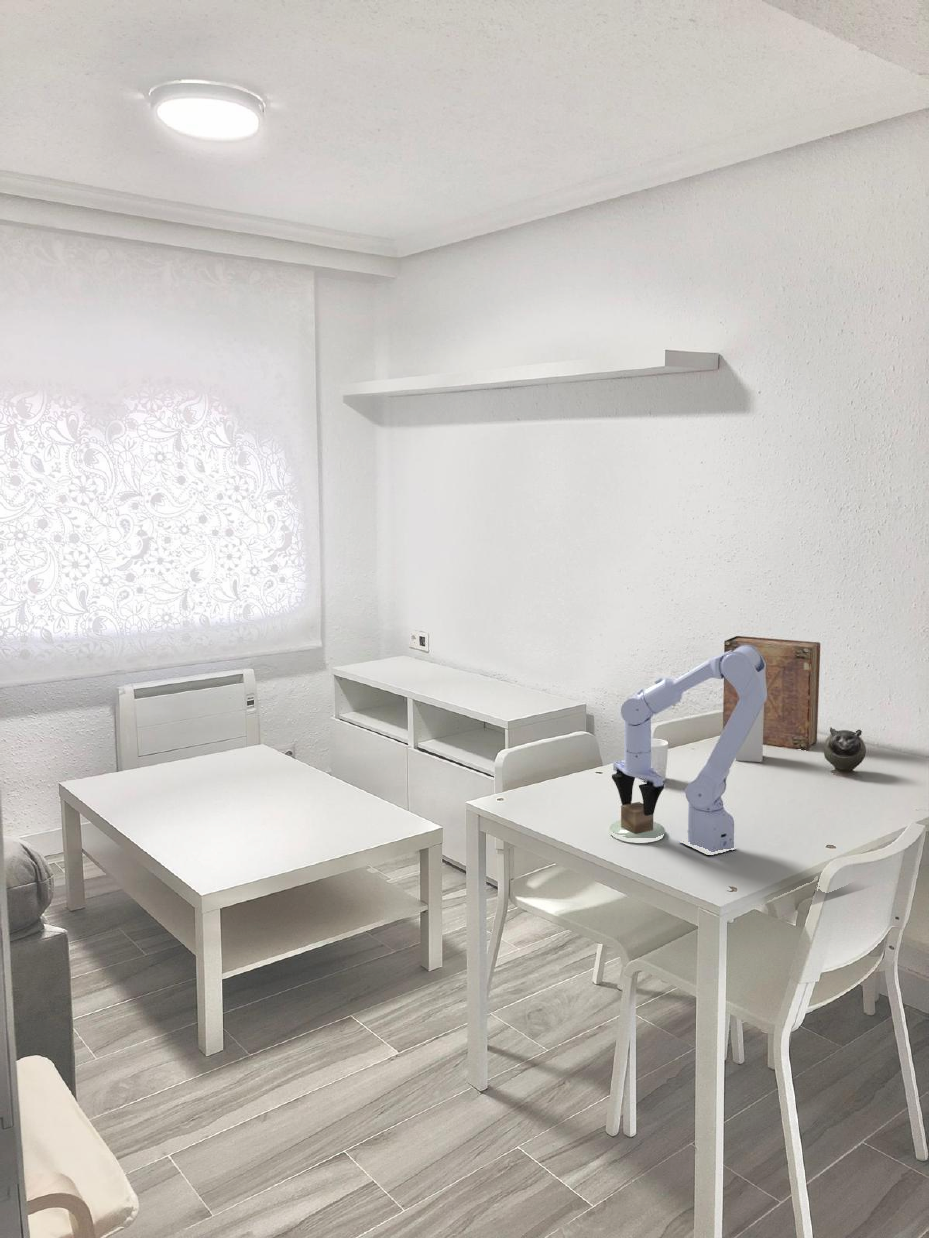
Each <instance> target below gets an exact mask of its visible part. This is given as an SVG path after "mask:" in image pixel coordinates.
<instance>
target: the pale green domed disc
mask: <svg viewBox="0 0 929 1238" xmlns="http://www.w3.org/2000/svg"><path fill="white" fill-rule="evenodd" d="M610 830H611V831H612V832H613V833H615V834H617V835H625V836H623V837H626V838H656V837H658V836H661V835H663V834H664V832H665V831H666V830H665V827H664V826H663V825H662V824H660V823H658V822H655V821H653V830H651V831H647V832H642V833H638V834H634V833H632V832H630V831H628V830H626V829H623V828H621V819H620V820H617V821H615V822H612V823H611V824H610V825H609V831H610Z"/></svg>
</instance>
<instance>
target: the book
mask: <svg viewBox="0 0 929 1238" xmlns="http://www.w3.org/2000/svg"><path fill="white" fill-rule="evenodd" d="M742 645H750V646H753V647H755V648H756V649H757V650H758V651H759V652H760V654H761V656H762V658H763V659H764V661H765V663H766V669H765V676H766V687H767V699H766V701H765V703H764V721H763V746H765V745H766V746H772V747H777V748H778V747H780V748H784V749H792V750H798V749H801V750H800V751H804V750H806V752H809V750H810V746H812V745H814V744H815V745H816V744H817V743H818V723H819V701H820V700H819V699H820V696H819V694H820V692H819V691H820V669H821V667H820V666H821V643H820V642H818V641H807V640H793V639H782V638H781V639H780V638H768V637H767V638H766V637H754V636H745V635H743V636H742V635H741V636H740V635H736V636H734V637H730V638H729V639H726V640H724V648H723V649H724V650H723V651H724V652H723V653H725V652H728V651H730V650H732V651H731V652H733V651H734V650H735V649H736V648H738V647H739V646H742ZM738 701H739V696H738V694H737V692H736V690H735V688H734V687H733V686H732V684H731V683H730V682H729V681H728V680H727V679H726V678H725V677H724V678H723V703H722V704H723V709H722V710H723V712H722V713H723V714H722V717H723V718H722V731H723V730H724V728H725V726H726V724H727V722H728V720H729V718H730V717H731V715H732V713H733V711H734V709H735V707H736V705H737V703H738ZM813 743H814V744H813Z"/></svg>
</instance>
